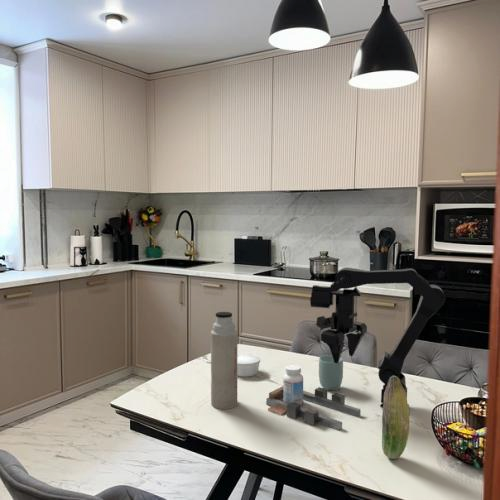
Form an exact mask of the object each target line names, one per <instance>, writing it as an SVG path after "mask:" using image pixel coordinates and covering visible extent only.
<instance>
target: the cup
mask: <svg viewBox="0 0 500 500" xmlns="http://www.w3.org/2000/svg"><path fill="white" fill-rule="evenodd" d="M343 377H344V358H343V357H342V356H340V359H339V362H338V363H334V360H333V357H332V354H326V355H325V354H324V355H321V356H320V357H318V380H319V384H320V386H321V388H323V389H327V391H336V390H338V389H339V388H340V387H341V386H342V383H343Z"/></svg>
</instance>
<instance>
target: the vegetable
mask: <svg viewBox="0 0 500 500" xmlns="http://www.w3.org/2000/svg"><path fill="white" fill-rule="evenodd" d="M383 403H384V404H383V407H382V417H381V418H382V419H381V425H382V426H381V427H382V428H381V430H382V431H381V432H382V433H381V449H382V452H383V454H384V455H385V456H386V457H387V458H388V459H391V460H392V459H393V460H394V459H396V460H397V459H398V458H400V457H401V456H402V455H403V453H404V452H405V448H406V446H407V442H408V438H409V432H410V411H409V410H410V409H409V406H408V404H409V403H408V396H407V397H406V393H405V390H404V388H403V386H402V384H401V382H400V379H399V378H398V377H397V376H391V377H390V378H389V381H388V384H387V387H386V389H385V392H384V400H383Z"/></svg>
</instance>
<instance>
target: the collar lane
mask: <svg viewBox="0 0 500 500" xmlns="http://www.w3.org/2000/svg"><path fill="white" fill-rule="evenodd" d="M345 396H346V395H345V394H344V393H340V392H334V393H333V394H331V399H329V398H328V390H327V389H324V388H323V387H320V386H319V387H317V388H315V389H314V393H312V392H309V391H306V390H303V401H304V400H305V401H308V402H311V403H314V404H317V405H320V406H323V407H326V408H328V409H332V410H336V411H338V412H341V413H344V414H347V415H350V416H354V417H356V418H359V417H360V416H361V411H362V410H361V408H357V407H354V406H351V405H349V404H346V403H345V401H346V400H345V399H346V397H345ZM282 400H283V385H282V386H281V387H278V388H276V389H274V390H272V391H270V392H269V393H268V397H267V398H266V401H265V403H266V405H267V406H269V407H268V408H267V411H268V412H271V413H274V414H276V415H280V416H284V415H285V414H286V417H287V418H290V419H293V420H295V421H296V420H297V419H299V418H301V417H302V418H304V419H303V420H304V424H306V425H309V426H312V427H315V426H316V425H318V424H320V425H323V426H325V427H326V426H327V427H328V428H332V429H334V430H337V431H341V430H342V429H343V421H340V420H338V419H335V418H331V417H329V416H326V415H323V414H321V413H319V412H320V411H319V410H318V409H315V408H311V407H308V408H307V409H306V408H302V405H300V404H297V403H294V402H291V403H289V404H288V403H285V402H284V400H283V401H282Z"/></svg>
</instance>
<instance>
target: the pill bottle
mask: <svg viewBox="0 0 500 500" xmlns="http://www.w3.org/2000/svg"><path fill="white" fill-rule="evenodd" d="M282 381H283V384H282V386H283V399H282V400H283V402H285V403H288V404H289V403H291V402H294V403H297V404H300V405H301V406H302V405H303V404H304V399H303V391H304V376H303V374H302V367H301V366H300V365H296V364H289V365H286V366H285V373H284V375H283V380H282Z"/></svg>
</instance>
